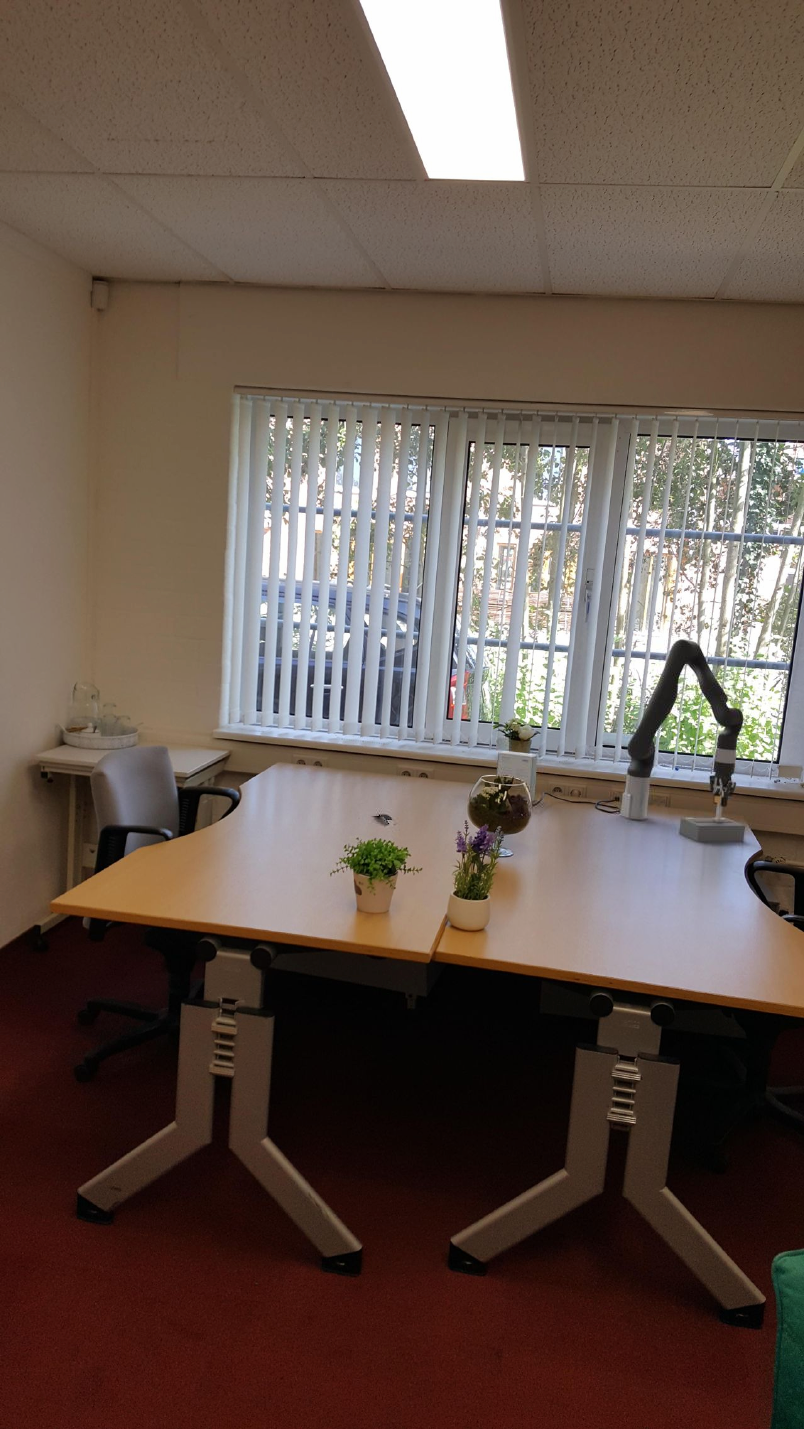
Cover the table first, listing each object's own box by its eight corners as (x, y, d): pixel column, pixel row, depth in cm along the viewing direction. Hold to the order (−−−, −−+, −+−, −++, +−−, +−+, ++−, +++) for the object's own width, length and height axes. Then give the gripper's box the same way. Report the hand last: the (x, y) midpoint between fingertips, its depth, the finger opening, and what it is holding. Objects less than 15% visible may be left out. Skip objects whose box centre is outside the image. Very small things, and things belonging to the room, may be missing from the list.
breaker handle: (717, 822, 363) (720, 798, 362) (711, 819, 367) (714, 795, 366) (724, 822, 364) (727, 798, 363) (718, 820, 368) (721, 795, 367)
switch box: (697, 841, 357) (698, 825, 356) (679, 833, 369) (680, 817, 368) (743, 841, 363) (745, 825, 362) (724, 833, 374) (726, 817, 374)
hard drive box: (534, 801, 408) (538, 754, 406) (529, 804, 401) (533, 757, 399) (499, 795, 415) (503, 749, 412) (493, 798, 408) (497, 752, 405)
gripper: (745, 764, 357) (739, 809, 359) (722, 757, 370) (717, 800, 373) (727, 764, 355) (722, 809, 357) (705, 756, 368) (700, 800, 370)
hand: (719, 804), depth 365 cm, fingers closed on breaker handle, 4 cm apart
